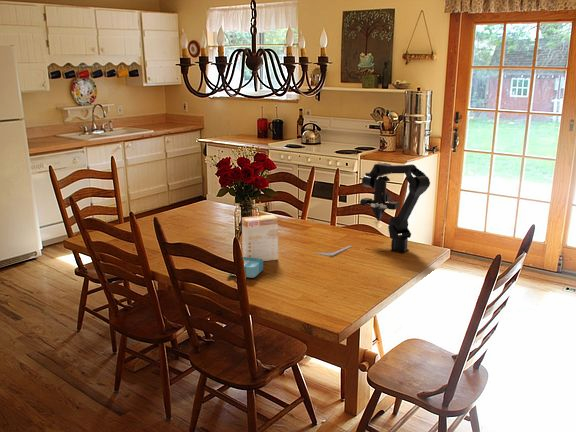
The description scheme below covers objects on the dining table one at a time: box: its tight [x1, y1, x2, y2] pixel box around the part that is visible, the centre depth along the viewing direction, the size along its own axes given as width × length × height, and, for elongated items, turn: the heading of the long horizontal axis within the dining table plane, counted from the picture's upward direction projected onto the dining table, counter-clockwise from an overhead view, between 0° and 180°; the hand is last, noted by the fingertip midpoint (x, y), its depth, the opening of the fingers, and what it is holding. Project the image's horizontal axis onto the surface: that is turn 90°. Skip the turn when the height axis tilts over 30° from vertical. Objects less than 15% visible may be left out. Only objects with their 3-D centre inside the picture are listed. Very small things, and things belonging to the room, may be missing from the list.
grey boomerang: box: [313, 245, 353, 258], centre depth 254 cm, size 14×18×1 cm
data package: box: [228, 256, 264, 279], centre depth 223 cm, size 12×4×12 cm
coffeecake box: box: [241, 214, 279, 262], centre depth 238 cm, size 15×7×20 cm, turn 111°
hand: (378, 220), depth 260 cm, fingers closed
